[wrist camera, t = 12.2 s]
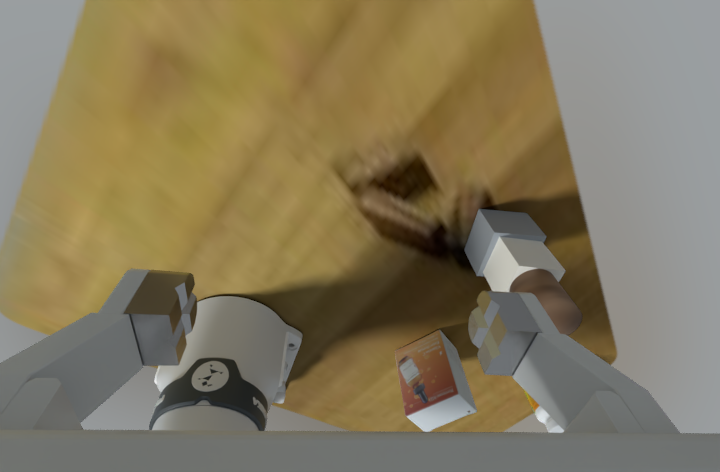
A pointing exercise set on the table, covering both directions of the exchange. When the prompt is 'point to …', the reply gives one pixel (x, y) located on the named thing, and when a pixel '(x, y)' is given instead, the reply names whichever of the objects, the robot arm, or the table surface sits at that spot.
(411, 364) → the small box
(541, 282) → the walnut cylinder
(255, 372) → the robot arm
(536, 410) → the supplement bottle
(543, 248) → the top block
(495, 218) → the base block
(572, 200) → the table surface
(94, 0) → the table surface
